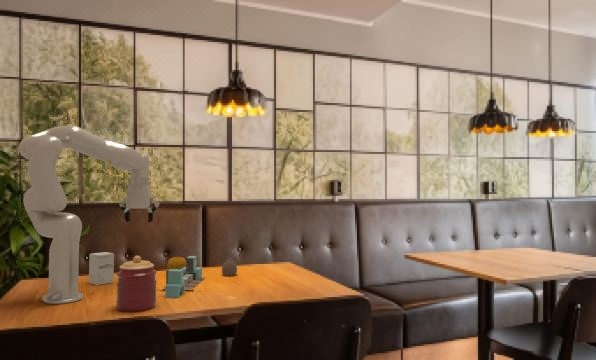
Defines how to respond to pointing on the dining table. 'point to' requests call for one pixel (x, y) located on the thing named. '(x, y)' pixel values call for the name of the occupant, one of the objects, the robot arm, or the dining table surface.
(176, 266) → the apple
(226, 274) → the vase
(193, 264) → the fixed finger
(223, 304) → the dining table surface
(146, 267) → the canister
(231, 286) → the dining table surface
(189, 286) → the rail board
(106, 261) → the supplement box
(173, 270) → the teal block toy
